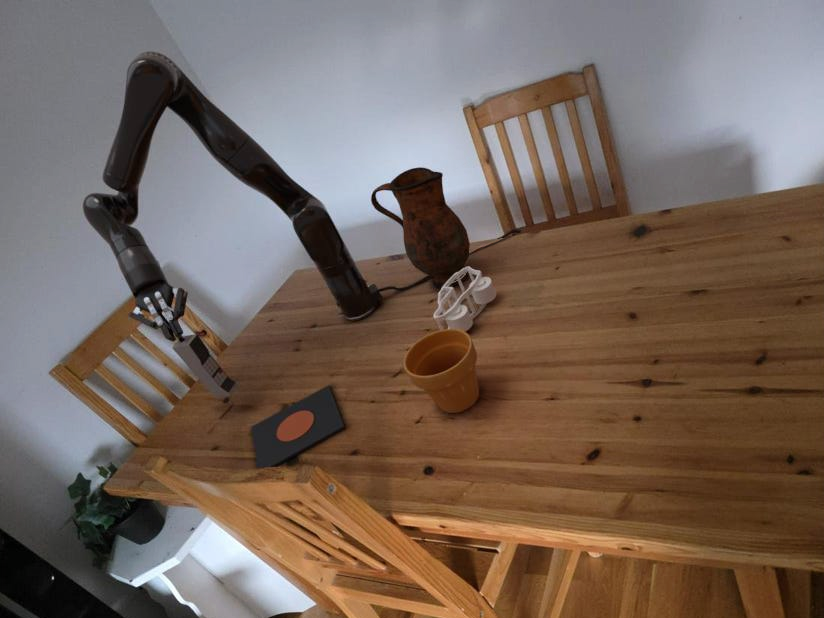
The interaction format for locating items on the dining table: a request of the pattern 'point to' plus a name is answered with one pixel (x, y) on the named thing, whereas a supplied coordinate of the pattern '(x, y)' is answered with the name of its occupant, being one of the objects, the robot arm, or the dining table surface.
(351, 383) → the dining table surface
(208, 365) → the vintage mobile phone
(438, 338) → the flower pot
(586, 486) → the dining table surface
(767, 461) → the dining table surface
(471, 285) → the skeletal toy car
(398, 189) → the pitcher
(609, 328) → the dining table surface
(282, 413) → the mat
